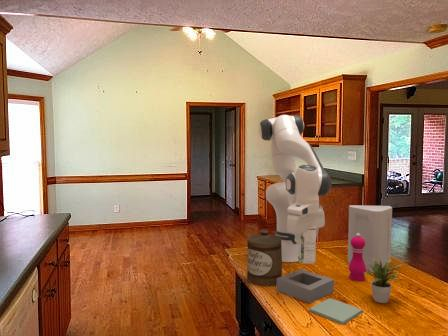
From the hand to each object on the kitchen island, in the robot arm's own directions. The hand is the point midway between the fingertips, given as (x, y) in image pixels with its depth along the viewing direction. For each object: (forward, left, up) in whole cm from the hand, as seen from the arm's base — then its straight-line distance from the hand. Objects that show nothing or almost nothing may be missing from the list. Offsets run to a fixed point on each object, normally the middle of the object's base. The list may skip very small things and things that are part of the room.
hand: (306, 241), depth 147 cm
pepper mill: (+6, +28, -20) cm, 35 cm away
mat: (+17, -7, -20) cm, 27 cm away
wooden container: (-20, -2, -20) cm, 29 cm away
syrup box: (0, 0, -8) cm, 8 cm away
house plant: (+24, +13, -20) cm, 34 cm away
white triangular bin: (+3, +47, -20) cm, 52 cm away
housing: (-1, 0, -20) cm, 20 cm away
